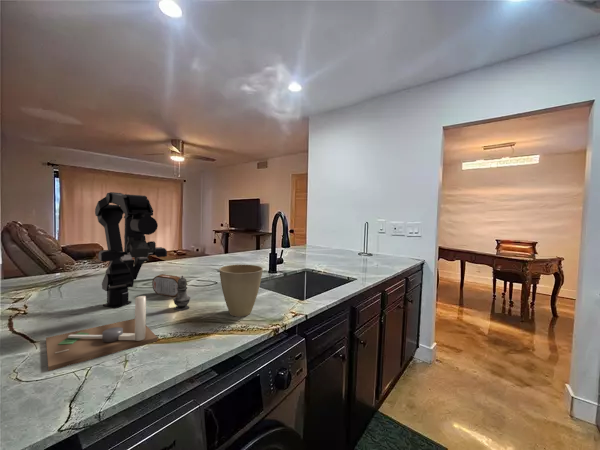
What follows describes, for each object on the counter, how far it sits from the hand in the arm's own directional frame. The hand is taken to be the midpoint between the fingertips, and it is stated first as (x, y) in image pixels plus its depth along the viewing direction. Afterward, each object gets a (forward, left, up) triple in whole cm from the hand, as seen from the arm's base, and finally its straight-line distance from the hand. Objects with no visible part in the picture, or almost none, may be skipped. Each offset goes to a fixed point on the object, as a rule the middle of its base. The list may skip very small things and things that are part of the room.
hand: (134, 279), depth 90 cm
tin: (-6, +22, -12) cm, 26 cm away
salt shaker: (+10, +11, -12) cm, 19 cm away
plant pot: (+32, +14, -12) cm, 37 cm away
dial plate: (+8, -17, -12) cm, 22 cm away
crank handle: (+10, -18, -11) cm, 23 cm away
